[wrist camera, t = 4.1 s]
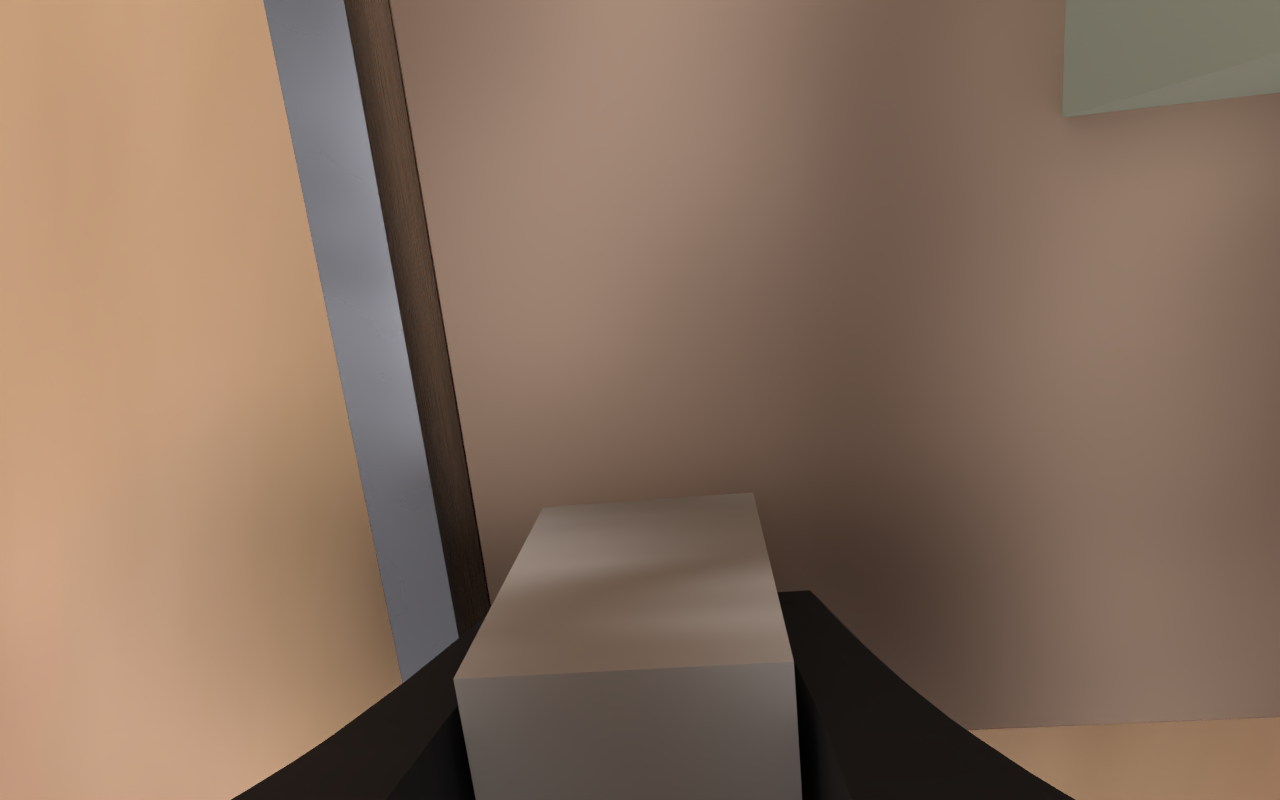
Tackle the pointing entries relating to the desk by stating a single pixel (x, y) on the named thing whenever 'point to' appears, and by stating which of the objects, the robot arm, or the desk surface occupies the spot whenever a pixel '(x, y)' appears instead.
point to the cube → (1167, 52)
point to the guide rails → (382, 313)
